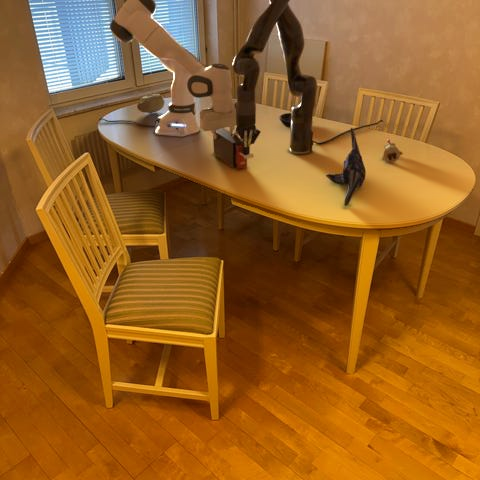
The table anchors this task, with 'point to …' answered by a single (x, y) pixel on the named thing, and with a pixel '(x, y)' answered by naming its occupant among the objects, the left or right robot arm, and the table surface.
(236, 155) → the drawer
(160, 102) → the decorative stone
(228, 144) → the dark grey block
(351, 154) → the toy dinosaur
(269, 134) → the table surface
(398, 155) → the figurine
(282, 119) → the oil lamp
